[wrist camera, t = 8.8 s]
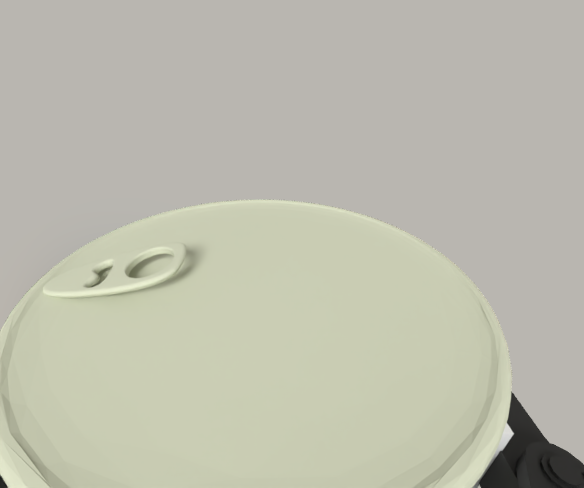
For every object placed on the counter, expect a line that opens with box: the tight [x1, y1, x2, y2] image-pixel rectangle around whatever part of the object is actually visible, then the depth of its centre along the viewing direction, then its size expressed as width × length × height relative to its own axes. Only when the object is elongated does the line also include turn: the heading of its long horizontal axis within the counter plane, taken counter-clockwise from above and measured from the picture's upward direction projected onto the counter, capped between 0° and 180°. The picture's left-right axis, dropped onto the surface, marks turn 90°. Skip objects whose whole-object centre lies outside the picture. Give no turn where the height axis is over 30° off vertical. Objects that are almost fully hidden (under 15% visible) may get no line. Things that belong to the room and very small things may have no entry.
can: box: [0, 200, 512, 488], centre depth 9 cm, size 9×9×12 cm
